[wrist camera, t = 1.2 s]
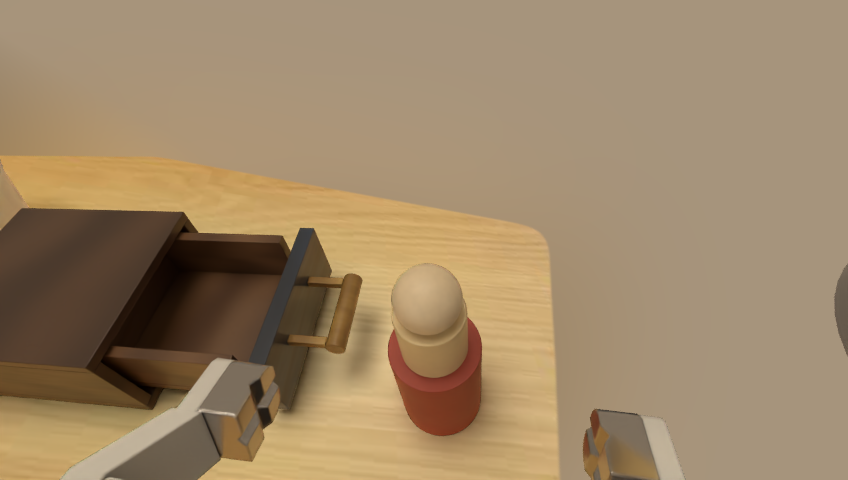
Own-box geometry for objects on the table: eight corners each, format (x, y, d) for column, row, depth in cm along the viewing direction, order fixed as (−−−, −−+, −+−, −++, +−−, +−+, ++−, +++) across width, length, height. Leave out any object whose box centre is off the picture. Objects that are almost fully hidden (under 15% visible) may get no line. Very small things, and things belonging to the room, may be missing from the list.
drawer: (377, 272, 39) (365, 229, 35) (346, 415, 31) (324, 383, 27) (184, 264, 42) (150, 223, 37) (111, 394, 34) (55, 361, 29)
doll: (449, 346, 35) (436, 217, 23) (496, 403, 32) (508, 286, 20) (390, 388, 33) (344, 271, 22) (433, 453, 30) (407, 356, 18)
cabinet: (223, 266, 42) (183, 211, 36) (152, 409, 34) (85, 368, 28) (80, 260, 44) (21, 207, 39) (-21, 393, 36) (-116, 351, 30)
